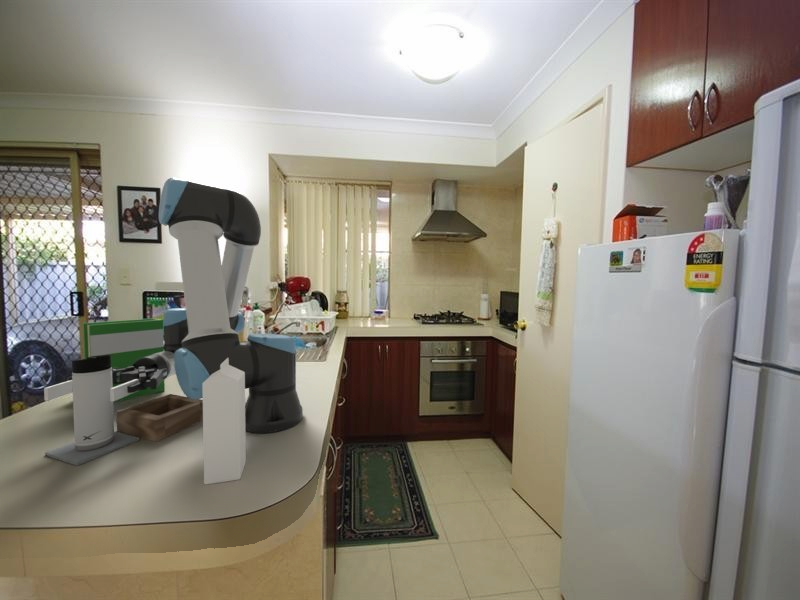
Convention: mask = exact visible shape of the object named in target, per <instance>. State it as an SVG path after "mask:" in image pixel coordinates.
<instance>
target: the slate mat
mask: <svg viewBox="0 0 800 600" xmlns="http://www.w3.org/2000/svg"><path fill="white" fill-rule="evenodd" d="M138 441H139V437H137V436H133V435H129V434H125V433H121V432H117V431H115V430H114V440H113V441H112V442H111V443H110V444H108V445H106V446H103V447H101V448H97V449H93V450H88V451H78V450H76V449H75V441H73V442H70V443H67V444H65V445H61V446H59V447H56V448H53V449H51V450H48V451H45V452H44V456H46V455H47V456H46V457H49V458H53V459H56V460H58V459H59V461H61V460H62V461H61V462H64V463H67V462H68V464H71V465H73V466H80V465H82V464H85V463H88V462H89V461H91V460H94V459H96V458H99V457H102V456H103V455H105V454H108V453H111V452H113V451H115V450H118V449H120V448H122V447H126V446H127V445H131V444H132V443H135V442H138Z"/></svg>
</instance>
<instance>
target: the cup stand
mask: <svg viewBox="0 0 800 600" xmlns="http://www.w3.org/2000/svg"><path fill="white" fill-rule="evenodd" d="M115 416H116V419H115V420H116V432H119V433H123V434H126V435H130V436H134V437H138V438H142V439H145V440H150V441H152V442H159V441H161V440H163V439H165V438H168V437H170V436H172V435H174V434H176V433H179V432H182V431H183V430H185V429H188V428H190V427H192V426H195V425H197V424H199V423H201V422H203V399H202V398H201V399H190V398H188V397H187V396H185V395H184V396H182V395H178V394H174V393H172V394H171V393H168V394H165V395H162V396H159V397H157V398H153V399H150V400H147V401H144V402H141V403H138V404H136V405H132V406H128V407H125V408H123V409H119V410H116V411H115Z"/></svg>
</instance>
